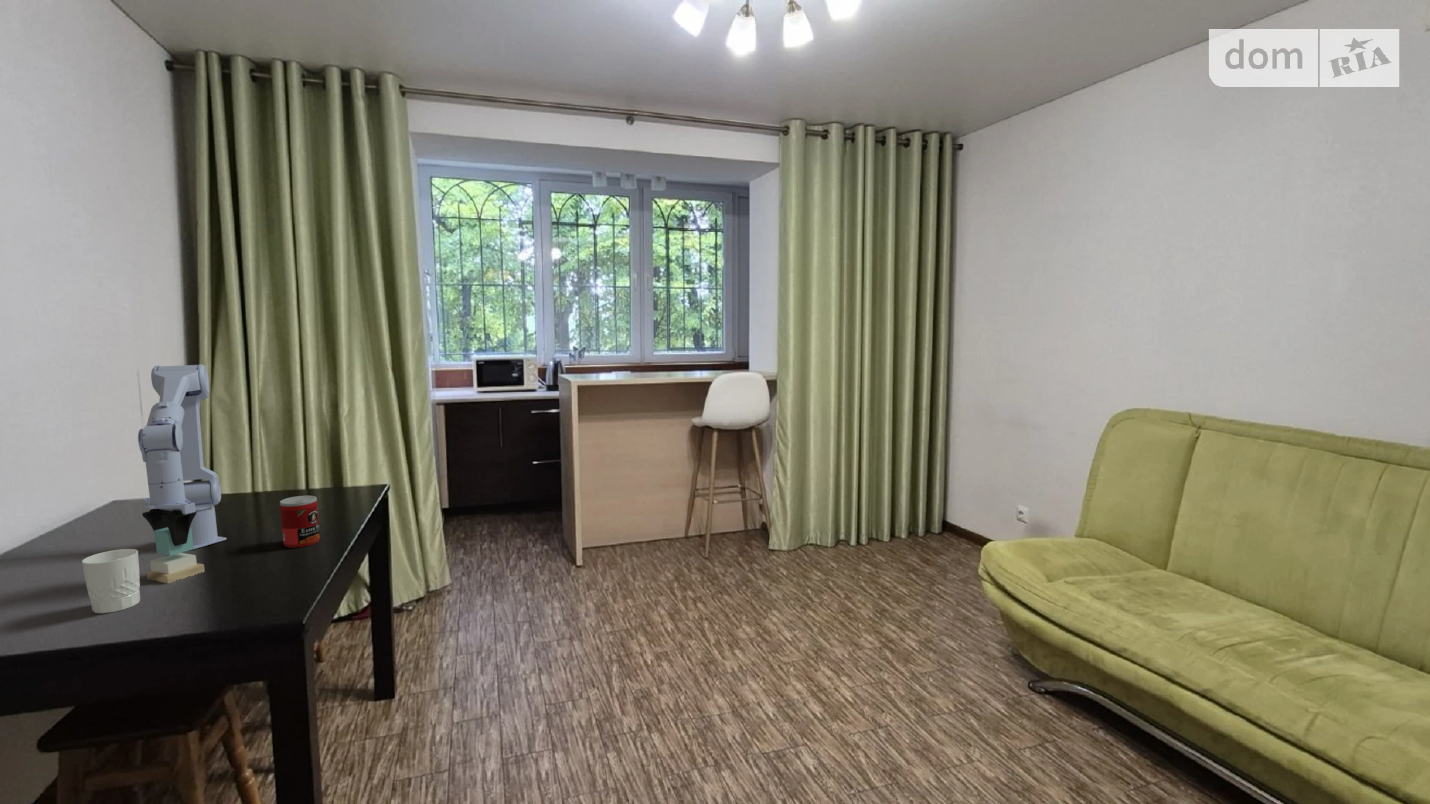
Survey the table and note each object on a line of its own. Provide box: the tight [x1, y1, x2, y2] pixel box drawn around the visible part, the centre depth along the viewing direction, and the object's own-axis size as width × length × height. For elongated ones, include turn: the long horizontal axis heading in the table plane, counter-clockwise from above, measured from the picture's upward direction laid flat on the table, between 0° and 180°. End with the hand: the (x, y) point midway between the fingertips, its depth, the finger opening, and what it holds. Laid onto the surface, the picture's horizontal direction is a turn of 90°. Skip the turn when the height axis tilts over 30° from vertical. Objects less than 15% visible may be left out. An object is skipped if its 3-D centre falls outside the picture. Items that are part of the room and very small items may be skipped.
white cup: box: [81, 548, 141, 614], centre depth 124 cm, size 8×8×10 cm
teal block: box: [153, 527, 195, 556], centre depth 140 cm, size 4×4×5 cm
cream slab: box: [149, 552, 198, 574], centre depth 140 cm, size 6×6×2 cm
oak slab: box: [146, 562, 206, 584], centre depth 140 cm, size 7×7×2 cm
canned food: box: [279, 495, 321, 549], centre depth 160 cm, size 8×8×11 cm
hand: (172, 543), depth 139 cm, fingers closed on teal block, 4 cm apart
